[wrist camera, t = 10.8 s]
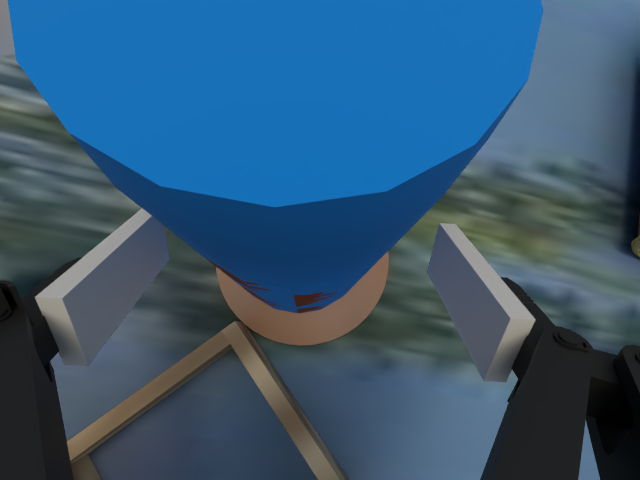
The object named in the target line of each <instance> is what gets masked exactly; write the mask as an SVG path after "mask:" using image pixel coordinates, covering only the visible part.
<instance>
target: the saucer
mask: <svg viewBox="0 0 640 480" xmlns="http://www.w3.org/2000/svg"><path fill="white" fill-rule="evenodd" d="M388 269H389V254H388V252H387V253H386V254H385V255H384V256H383V257H382V258H381V259H380V260H379V261H378V262H377V263H376V264H375V265H374V266H373V267H372V268H371V269H370V270H369V271H368V272H367V273H366V274H365V275H364V276H363V277H362V278H361V279H360V280H359V281H358V282H357V283H356V284H355V285H354V286H353V287H352V288H351V289H350V290H349V291H348V292H347V293H346V294H345V295H344V296H343V297H342V298H340V299H338V300H337V301H335V302H333V303H331V304H330V305H328V306H326V307H325V308H323V309H320V310H316V311H310V312H304V313H294V312H288V311H283V310H278V309H274V308H272V307H271V306H269V305H267V304H266V303H264V302H262V301H261V300H259V299H257V298H256V297H254V296H253V295H251V294H250V293H249V292H248V291H246V290H245V289H244V288H243V287H241V286H240V285H239V284H238V283H236V282H235V281H234V280H232V279H231V278H230V277H229V276H227V275H226V274H225V273H224V272H222V271H221V270H220V269H219V268H217V267H216V271H217V277H218V282H219V286H220V289H221V291H222V294H223V296H224V298H225V300H226V302H227V303H228V305H229V307H230V308H231V310H232V311H233V312H234V313H235V315H236V316H237V317H238V318H239V319H240V320H241V321H242V322H243V323H244V324H245V325H246V326H248V327H249V328H250V329H252V330H253V331H254V332H256V333H258V334H260V335H262V336H263V337H265V338H268V339H271V340H273V341H276V342H280V343H284V344H289V345H315V344H320V343H325V342H328V341H331V340H334V339H337V338H339V337H341V336H343V335H345V334H347V333H348V332H350V331H351V330H352V329H354V328H355V327H357V326H358V325H359V324H360V323H361V322H362V321H363V320H365V319H366V317H367V316H368V315H369V314H370V313H371V311H372V310H373V309H374V307H375V306H376V304H377V303H378V301H379V299H380V297H381V295H382V292H383V290H384V287H385V284H386V280H387V275H388Z"/></svg>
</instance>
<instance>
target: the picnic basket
mask: <svg viewBox="0 0 640 480" xmlns="http://www.w3.org/2000/svg"><path fill="white" fill-rule="evenodd" d="M631 247H632V251H633V253H634V254H636V255H637V256H638V257H639V258H640V214H639V229H638V237H637V238H635V239H634V240H633V241H632V243H631Z"/></svg>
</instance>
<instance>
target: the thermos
mask: <svg viewBox="0 0 640 480" xmlns="http://www.w3.org/2000/svg"><path fill="white" fill-rule="evenodd" d="M8 5H9V12H10V19H11V26H12V33H13V40H14V47H15V54H16V60H17V62H18V63H19V65H20V66H21V67H22V69H23V70H24V71H25V73H26V74H27V76H28V77H29V78H30V80H31V81H32V83H33V84H34V85H35V87H36V88H37V89H38V91H39V92H40V94H41V95H42V96H43V98H44V99H45V100H46V102H47V103H48V105H49V106H50V107H51V109H52V110H53V111H54V113H55V114H56V116H57V117H58V118H59V120H60V121H61V122H62V124H63V125H64V127H65V128H66V129H67V131H68V132H69V133H70V134H71V136H72V137H73V138H74V139H75V140H76V141H77V143H78V144H79V145H80V146H81V147H82V148H83V149H84V151H85V152H86V153H87V154H88V155H89V156H90V158H91V159H92V160H93V161H94V162H95V163H96V164H97V166H98V167H99V168H100V169H101V170H102V171H103V173H104V174H105V175H106V176H107V177H108V178H109V179H110V181H111V182H112V183H113V184H114V185H115V186H116V188H117V189H119V190H120V191H121V192H123V193H124V194H125V195H126V196H128V197H129V198H130V199H131V200H133V201H134V202H135V203H136V204H138V205H139V206H140V207H141V208H143V209H144V210H145V211H147V212H148V213H149V214H150V215H152V216H153V217H154V218H155V219H157V220H158V221H159V222H160V223H162V224H163V225H164V226H165V227H167V228H168V229H169V230H171V231H172V232H173V233H174V234H176V235H177V236H178V237H179V238H181V239H182V240H183V241H184V242H186V243H187V244H188V245H190V246H191V247H192V248H193V249H195V250H196V251H197V252H198V253H200V254H201V255H202V256H203V257H205V258H206V259H207V260H208V261H210V262H211V263H212V264H214V265H215V266H216V267H217V268H219V269H220V270H221V271H222V272H224V273H225V274H226V275H227V276H229V277H230V278H231V279H232V280H234V281H235V282H236V283H238V284H239V285H240V286H241V287H243V288H244V289H245V290H246V291H248V292H249V293H250V294H251V295H253V296H254V297H256V298H257V299H259V300H261V301H262V302H264V303H266V304H267V305H269V306H271V307H272V308H274V309H278V310H283V311H288V312H294V313H304V312H310V311H316V310H320V309H323V308H325V307H326V306H328V305H330V304H331V303H333V302H335V301H337V300H338V299H340V298H342V297H343V296H344V295H345V294H346V293H347V292H348V291H349V290H350V289H351V288H352V287H353V286H354V285H355V284H356V283H357V282H358V281H359V280H360V279H361V278H362V277H363V276H364V275H365V274H366V273H367V272H368V271H369V270H370V269H371V268H372V267H373V266H374V265H375V264H376V263H377V262H378V261H379V260H380V259H381V258H382V257H383V256H384V255H385V254H386V253H387V252H388V251H389V250H390V249H391V248H392V247H393V246H394V245H395V244H396V243H397V242H398V241H399V240H400V238H401V237H402V236H403V235H404V234H405V233H406V232H407V231H408V230H409V229H410V228H411V227H412V226H413V225H414V224H415V223H416V222H417V221H418V220H419V219H420V218H421V217H422V216H423V215H424V214H425V213H426V212H427V211H428V210H429V209H430V208H431V207H432V206H433V205H434V204H435V203H436V202H437V201H438V200H439V199H440V198H441V197H442V196H443V195H444V194H445V192H446V191H447V190H448V189H449V187H450V186H451V185H452V184H453V182H454V181H455V180H456V179H457V177H458V176H459V175H460V174H461V172H462V171H463V170H464V169H465V167H466V166H467V165H468V164H469V162H470V161H471V160H472V159H473V157H474V156H475V155H476V154H477V152H478V151H479V150H480V149H481V147H482V146H483V145H484V144H485V142H486V141H487V140H488V138H489V137H490V135H491V134H492V132H493V131H494V129H495V128H496V126H497V125H498V123H499V122H500V121H501V119H502V118H503V116H504V115H505V113H506V112H507V110H508V109H509V107H510V106H511V104H512V103H513V101H514V100H515V98H516V97H517V95H518V94H519V92H520V91H521V89H522V88H523V86H524V85H525V83H526V82H527V80H528V76H529V72H530V68H531V63H532V59H533V54H534V50H535V45H536V41H537V36H538V32H539V27H540V23H541V18H542V14H543V7H542V3H541V0H8Z"/></svg>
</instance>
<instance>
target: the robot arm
mask: <svg viewBox="0 0 640 480" xmlns="http://www.w3.org/2000/svg"><path fill="white" fill-rule="evenodd" d="M168 260H169V254H168V248H167V243H166V238H165V232H164V227H163V224H162V223H160V222H159V221H158V220H157V219H155V218H154V217H153V216H152V215H150V214H149V213H148V212H147V211H145V210H144V209H143V208H142V209H141V210H140V211H138V212H137V213H136V214H135V215H134V216H132V217H131V218H130V219H129V220H128V221H126V222H125V223H124V224H123V225H122V226H120V227H119V228H118V229H117V230H115V231H114V232H113V233H112V234H111V235H109V236H108V237H107V238H106V239H105V240H103V241H102V242H101V243H100V244H99V245H97V246H96V247H95V248H94V249H92V250H91V251H90V252H89V253H88V254H86V255H85V256H84V257H83V258H77V259H75V260H73V261H71V262H68V263H66V264H64V265H63V266H62V267H60V268H59V269H58V270H57V271H55V272H54V273H53V275H50V276H49V277H48V278H46V279H45V281H44V282H41V283H40V284H39V285H38V286H36V287H35V288H34V289H33V290H31V291H30V292H29V293H27V294H26V295H25V296H24V297H22V298H20V296H19V294H18V292H17V290H16V287H15V286H14V284H13V283H12V282H9V281H0V480H74V478H73V473H72V467H71V462H70V456H69V451H68V446H67V440H66V435H65V429H64V424H63V419H62V413H61V408H60V402H59V397H58V392H57V386H56V381H55V375H54V370H53V367H52V365H51V363H50V360H51V359H52V358H53V357H54V356H55V355H56V354H57V353H58V352H59V354H60V356H61V358H62V361H63V363H64V365H85V366H88V365H89V364H90V363H91V361H92V360H93V359H94V357H95V356H96V355H97V354H98V352H99V351H100V350H101V348H102V347H103V346H104V344H105V343H106V342H107V340H108V339H109V338H110V336H111V335H112V334H113V332H114V331H115V330H116V329H117V327H118V326H119V325H120V323H121V322H122V321H123V319H124V318H125V317H126V315H127V314H128V313H129V311H130V310H131V309H132V308H133V306H134V305H135V304H136V302H137V301H138V300H139V298H140V297H141V296H142V294H143V293H144V292H145V290H146V289H147V288H148V286H149V285H150V284H151V283H152V281H153V280H154V279H155V277H156V276H157V275H158V273H159V272H160V271H161V269H162V268H163V267H164V265H165V264H166V263H167V262H168ZM427 272H428V274H429V276H430V278H431V280H432V282H433V284H434V286H435V288H436V290H437V292H438V294H439V296H440V297H441V299H442V301H443V303H444V305H445V307H446V309H447V311H448V313H449V315H450V317H451V319H452V321H453V323H454V325H455V327H456V328H457V330H458V332H459V334H460V336H461V338H462V340H463V342H464V344H465V346H466V348H467V350H468V352H469V354H470V356H471V357H472V359H473V361H474V363H475V365H476V367H477V369H478V371H479V373H480V375H481V377H482V379H483V381H497V382H506V380H507V378H508V376H509V374H510V372H511V370H513V371H514V373H515V374H516V376H517V378H518V381H517V383H516V385H515V387H514V389H513V391H512V393H511V395H510V397H509V399H508V401H507V402H509V403H508V406H507V409H506V412H505V414H504V417H503V420H502V422H501V425H500V428H499V430H498V433H497V436H496V439H495V441H494V444H493V447H492V449H491V452H490V455H489V457H488V460H487V463H486V466H485V468H484V471H483V474H482V476H481V479H480V480H578V476H579V468H580V460H581V452H582V444H583V435H584V427H585V419H586V422H587V426H588V430H589V434H590V439H591V443H592V447H593V451H594V455H595V459H596V463H597V467H598V472H599V476H600V480H640V346H636V345H626V346H625V347H623V348H622V349H621V351H620V352H619V354H618V355H614V354H610V353H606V352H602V351H598V350H594V349H593V348H592V346H591V345H590V344H589V342H588V341H587V340H586V339H584V338H583V337H582V336H580V335H579V334H577V333H575V332H573V331H571V330H569V329H565V328H562V327H557V326H555V325H554V324H553V323H552V322H551V321H550V319H549V318H548V317H547V316H546V315H545V314H544V313H543V312H542V311H541V309H540V308H539V307H538V306H537V305H536V304H534V303H533V300H532V299H531V298H530V297H529V296H527V294H526V293H525V292H524V290H523V289H522V288H521V287H520V286H519V285H517V284H516V283H514V282H513V281H511V280H510V279H508V278H503V277H499V275H498V274H497V273H496V272H495V271H494V269H493V268H492V267H491V266H490V265H489V264H488V262H487V261H486V260H485V259H484V258H483V256H482V255H481V254H480V253H479V252H478V250H477V249H476V248H475V247H474V246H473V245H472V243H471V242H470V241H469V240H468V239H467V237H466V236H465V235H464V234H463V233H462V231H461V230H460V229H459V228H458V227H457V226H456V224H444V223H439V227H438V231H437V235H436V239H435V243H434V246H433V250H432V254H431V258H430V262H429V266H428V270H427Z"/></svg>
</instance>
